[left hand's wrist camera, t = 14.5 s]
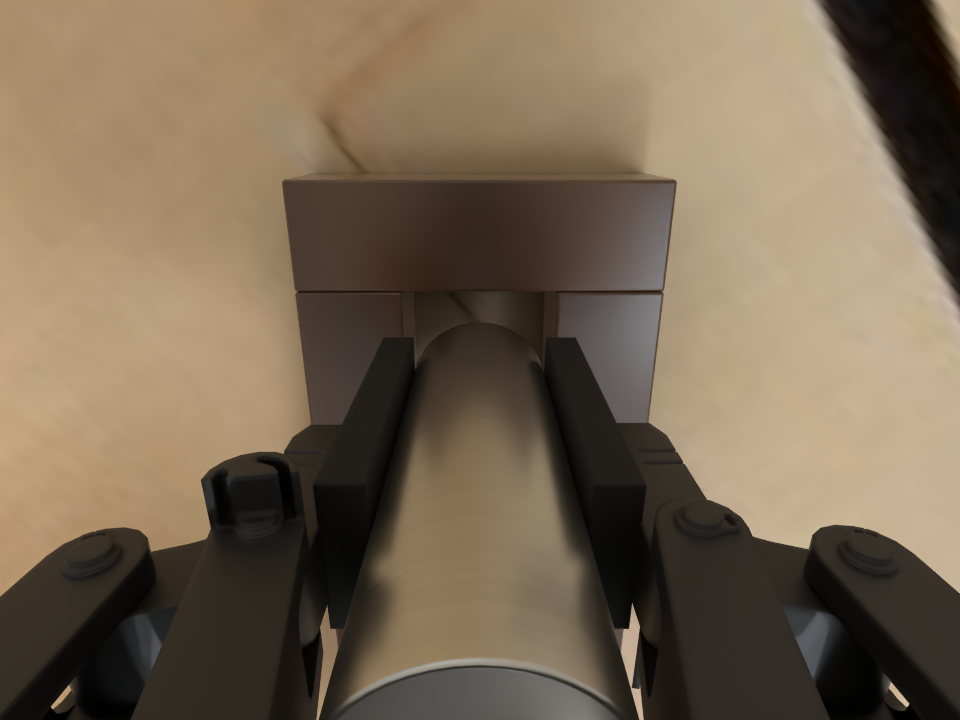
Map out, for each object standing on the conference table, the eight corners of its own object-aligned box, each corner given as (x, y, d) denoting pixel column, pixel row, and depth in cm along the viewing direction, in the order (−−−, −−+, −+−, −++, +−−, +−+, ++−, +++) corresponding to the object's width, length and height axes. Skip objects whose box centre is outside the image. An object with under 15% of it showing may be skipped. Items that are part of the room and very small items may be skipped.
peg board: (645, 172, 17) (805, 206, 9) (590, 729, 26) (643, 1013, 17) (312, 173, 17) (153, 206, 9) (369, 729, 26) (316, 1014, 17)
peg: (547, 321, 14) (672, 663, 5) (541, 440, 16) (634, 892, 6) (411, 321, 14) (284, 663, 5) (416, 440, 16) (323, 891, 6)
